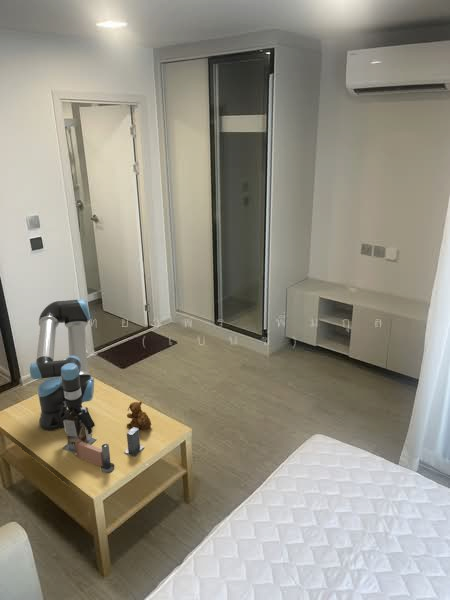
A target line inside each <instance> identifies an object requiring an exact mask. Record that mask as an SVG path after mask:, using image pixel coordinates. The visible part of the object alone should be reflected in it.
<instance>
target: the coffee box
mask: <svg viewBox="0 0 450 600" xmlns="http://www.w3.org/2000/svg"><path fill="white" fill-rule="evenodd" d="M80 414H81V412H80ZM80 414H79V415H80ZM65 424H66V432H65V433H66V437H67V438H66V439H67V444H68V447H69V448H70V449H75V442H74V441H75V440H76V439H77V438H78V439H81V442H84V443H87V439H86V431H85V428H86V427H85V425H84V424H83V422H82V421H81V419H80V418H79V417H77V415H75V414H71V413H70V415H69V416H68V417H67V418H66V419H65Z"/></svg>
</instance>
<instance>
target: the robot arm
mask: <svg viewBox="0 0 450 600" xmlns="http://www.w3.org/2000/svg"><path fill="white" fill-rule="evenodd" d="M89 321H91V313H90V309H89V305H88V302H87V301H86V300H85V299H69V300H68V299H67V300H57V301H53V302H51V303H49V304H48V305H47V306H46V307H44V309H43V310H42V311H41V313H40V315H39V318H38V326H39V327H40V328H39V335H38V345H37V351H36V360H35V361H36V362H33V363H31V364H30V366H29V375H30V378H31V379H32V380H42V379H45V380H44V381H42V382H41V383H40V384H39V385H38V389H37V396H38V400H39V405H40V417H39V421H38V422H39V427H40V428H41V429H43V430H45V431H56V430H60V429H63V428H64V433H67V432H66V424H65V419H66V418H67V417H68V416H69V415H70V414H75V415H77V417H79V418H80V419H81V421H82V422H83V424H84V425H85V427H86V428H85V431H86V439H87V441H88V440H89V439H91V438H93V435H92V434H93V431H92V430H93V428H94V427H95V426H96V425H95V422H94V421H93V419H92V417H91V416H92V415H90V413H89V412H90V411H89V409H88V407H83V405H82V404H83V403H87V402H91V401H92V400H93V399H94V392H95V391H94V390H95V379H94V377H92V375H91V373H90V372H88V358H87V355H88V354H87V340H86V338H87V337H86V327H87V326H88V324H89ZM63 323H64V326H65V327H66V328H67V336H68V338H67V339H68V357H66V358H65V359H61V360H54V356H55V347H56V335H57V334H56V333H57V328H58V326H59V324H63ZM60 377H61V378H60ZM80 412H81V414H80ZM79 414H80V415H79Z"/></svg>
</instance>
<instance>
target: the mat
mask: <svg viewBox="0 0 450 600" xmlns="http://www.w3.org/2000/svg"><path fill="white" fill-rule="evenodd" d="M96 441H97V439H96V438H94V437H92V438H91V439H89V440H88V441H87V444H89V445H92V444H94V443H95V442H96ZM62 449H63V450H66V451H68V452H71V453H73V454H74V455H76V449H70V448H69V447H68V443H66V444H65V445H63V447H62Z"/></svg>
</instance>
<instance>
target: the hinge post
mask: <svg viewBox="0 0 450 600" xmlns="http://www.w3.org/2000/svg"><path fill="white" fill-rule="evenodd" d="M101 449H102V455H103V463H104V465H103V466H100V472H101V473H103V474H109V473H111V472H113V471H114V470H115V468H116V467H115V464H114V463H112V462H111V454H110V446H109V444H108V443H104V444H102V445H101Z"/></svg>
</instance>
